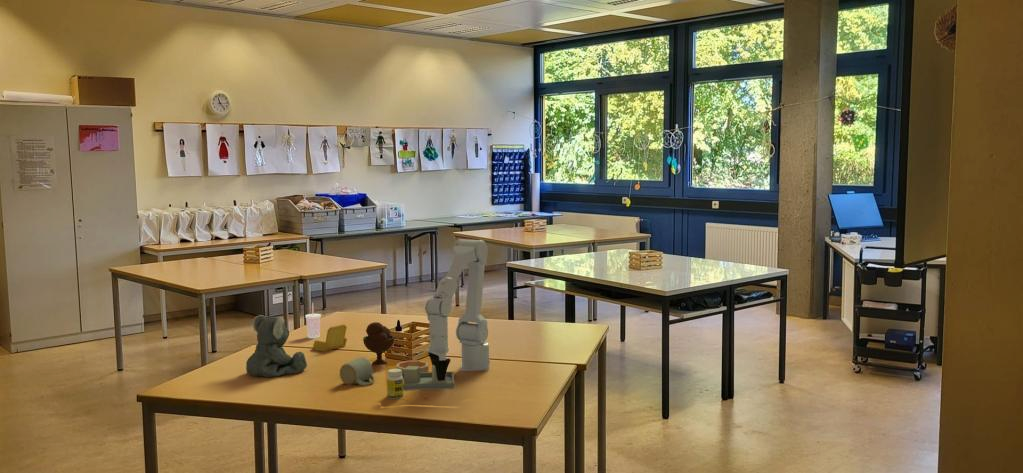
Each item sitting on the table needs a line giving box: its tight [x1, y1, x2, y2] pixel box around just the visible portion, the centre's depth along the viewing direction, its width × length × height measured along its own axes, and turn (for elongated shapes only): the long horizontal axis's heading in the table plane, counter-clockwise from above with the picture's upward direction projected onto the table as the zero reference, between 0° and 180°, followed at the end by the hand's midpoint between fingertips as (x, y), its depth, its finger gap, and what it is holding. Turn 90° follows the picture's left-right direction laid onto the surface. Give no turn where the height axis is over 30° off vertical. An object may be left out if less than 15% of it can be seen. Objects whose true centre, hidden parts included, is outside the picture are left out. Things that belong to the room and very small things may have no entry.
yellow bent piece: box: [312, 323, 348, 352], centre depth 297 cm, size 10×10×9 cm
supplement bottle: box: [386, 368, 404, 400], centre depth 234 cm, size 5×5×8 cm
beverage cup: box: [305, 302, 322, 339], centre depth 314 cm, size 6×6×14 cm
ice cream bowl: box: [362, 321, 395, 367], centre depth 272 cm, size 11×11×15 cm
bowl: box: [395, 360, 430, 373], centre depth 260 cm, size 11×11×3 cm
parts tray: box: [401, 371, 455, 392], centre depth 249 cm, size 17×17×2 cm
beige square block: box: [404, 366, 420, 384], centre depth 247 cm, size 4×4×5 cm
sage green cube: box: [431, 364, 448, 383], centre depth 249 cm, size 4×4×5 cm
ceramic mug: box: [339, 356, 375, 387], centre depth 249 cm, size 11×8×8 cm
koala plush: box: [245, 314, 308, 378], centre depth 263 cm, size 17×18×20 cm
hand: (439, 377), depth 249 cm, fingers open, 7 cm apart
